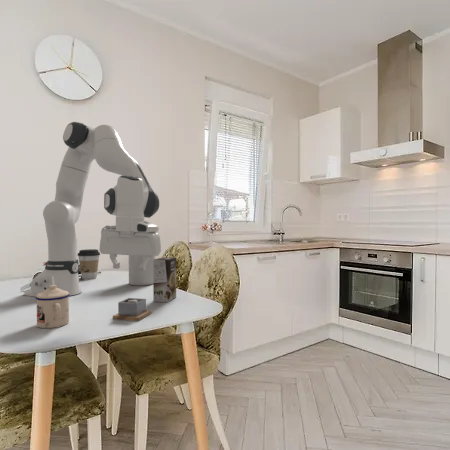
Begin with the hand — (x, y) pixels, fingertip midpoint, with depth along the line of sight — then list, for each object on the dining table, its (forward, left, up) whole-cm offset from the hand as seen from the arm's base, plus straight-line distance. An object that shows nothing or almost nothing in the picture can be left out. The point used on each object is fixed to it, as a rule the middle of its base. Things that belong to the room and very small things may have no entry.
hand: (129, 269), depth 111 cm
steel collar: (+1, +1, -14) cm, 14 cm away
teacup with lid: (-17, -13, -16) cm, 27 cm away
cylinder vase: (-22, +53, -16) cm, 59 cm away
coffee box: (+2, +25, -16) cm, 29 cm away
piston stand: (+1, +1, -15) cm, 15 cm away
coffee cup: (-56, +60, -16) cm, 84 cm away
